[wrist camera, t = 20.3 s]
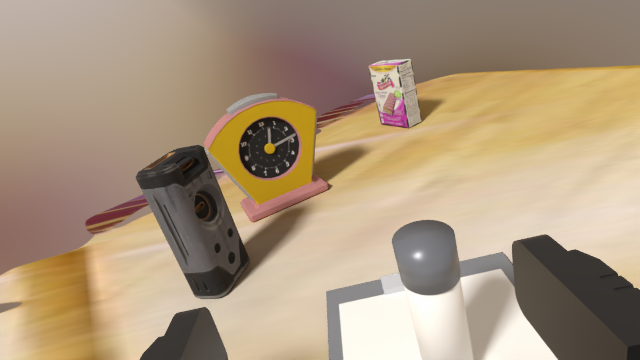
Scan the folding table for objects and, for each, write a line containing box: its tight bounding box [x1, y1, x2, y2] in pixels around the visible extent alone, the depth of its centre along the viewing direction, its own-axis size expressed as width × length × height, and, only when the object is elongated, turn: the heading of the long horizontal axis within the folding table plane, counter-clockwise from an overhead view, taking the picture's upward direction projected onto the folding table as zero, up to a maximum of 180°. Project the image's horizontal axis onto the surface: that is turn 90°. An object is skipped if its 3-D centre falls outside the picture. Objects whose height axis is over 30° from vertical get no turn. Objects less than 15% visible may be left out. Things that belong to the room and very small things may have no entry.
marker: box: [392, 220, 474, 360], centre depth 32 cm, size 5×5×14 cm
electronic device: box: [136, 145, 249, 298], centre depth 55 cm, size 9×6×20 cm, turn 164°
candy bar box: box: [369, 59, 422, 128], centre depth 100 cm, size 11×5×16 cm, turn 33°
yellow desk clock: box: [204, 93, 329, 222], centre depth 75 cm, size 22×9×22 cm, turn 114°
